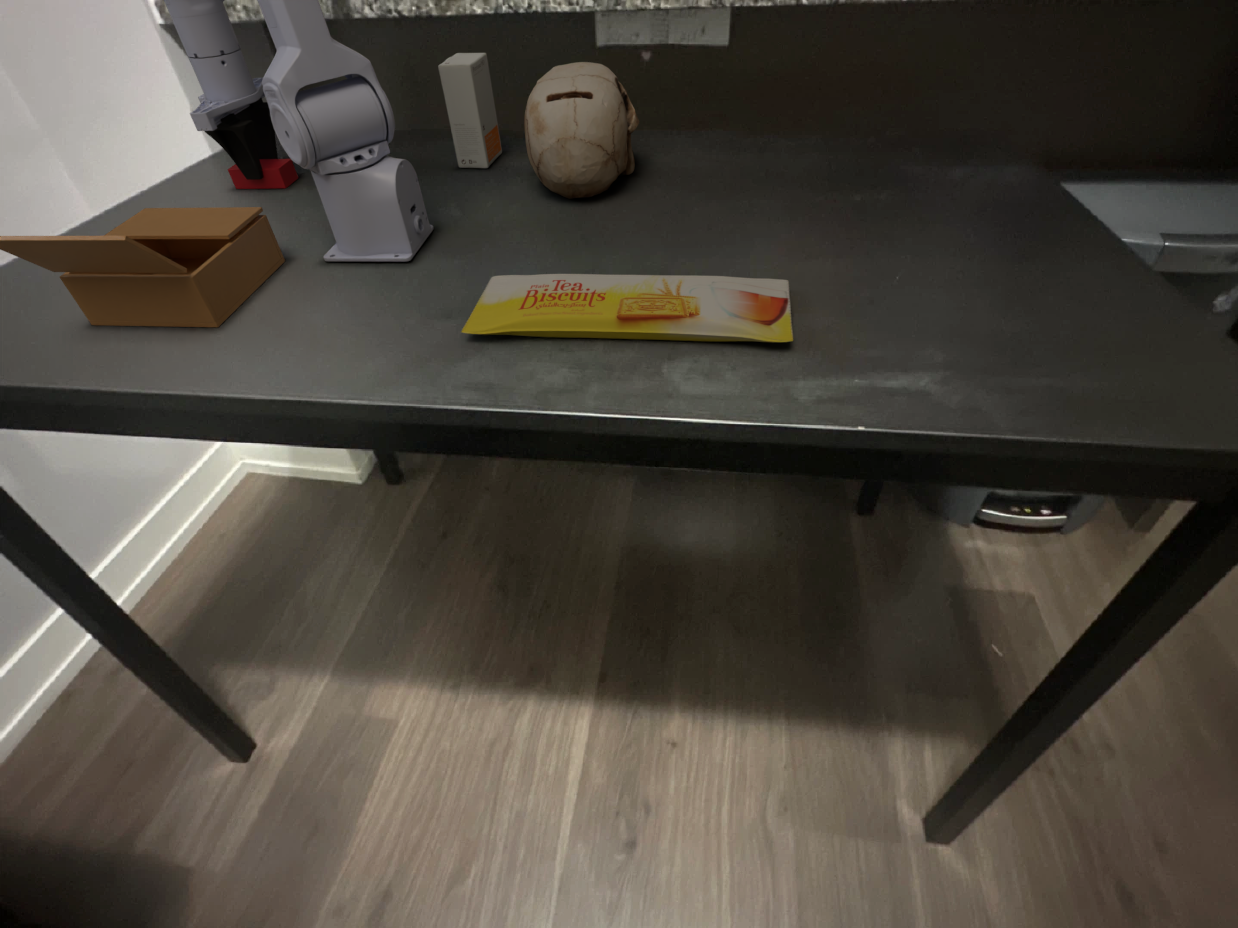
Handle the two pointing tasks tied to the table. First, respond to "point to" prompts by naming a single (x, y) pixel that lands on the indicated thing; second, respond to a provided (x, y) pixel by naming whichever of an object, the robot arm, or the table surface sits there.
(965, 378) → the table surface
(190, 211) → the carton
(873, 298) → the table surface
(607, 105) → the coin bank
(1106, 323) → the table surface
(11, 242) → the flap
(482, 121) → the cosmetic box
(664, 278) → the food package
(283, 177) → the red block
